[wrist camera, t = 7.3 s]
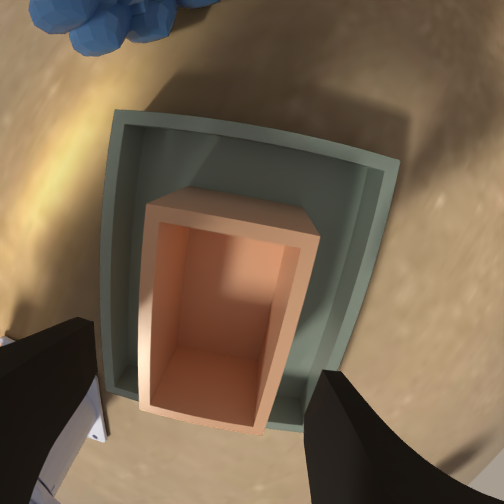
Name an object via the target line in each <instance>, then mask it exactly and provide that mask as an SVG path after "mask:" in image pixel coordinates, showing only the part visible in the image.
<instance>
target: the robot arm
mask: <svg viewBox="0 0 504 504" xmlns="http://www.w3.org/2000/svg"><path fill="white" fill-rule="evenodd" d="M0 342H1V347H0V504H60V502H59V501H57V500H56V499H55V498H54V496H55V495H56V493H57V491H58V489H59V487H60V485H61V483H62V481H63V480H64V478H65V476H66V474H67V472H68V470H69V468H70V467H71V465H72V463H73V461H74V459H75V458H76V456H77V454H78V452H79V450H80V449H81V447H82V445H83V443H84V442H85V440H86V438H87V437H89V438H92V439H95V440H97V441H100V442H106V440H107V434H106V429H105V423H104V417H103V411H102V405H101V398H100V391H99V383H98V377H97V376H96V374H97V372H98V370H97V360H96V349H95V335H94V322H93V321H89V320H86V319H83V318H80V317H76V318H73V319H70V320H68V321H65V322H62V323H60V324H57V325H55V326H53V327H50V328H48V329H45V330H43V331H41V332H38V333H36V334H33V335H31V336H28V337H26V338H23V339H20V340H18V341H15V340H12V339H10V338H8V337H6V336H2V337H1V338H0ZM304 448H305V455H306V463H307V470H308V478H309V485H310V493H311V502H312V504H504V501H502V500H499V499H496V498H494V497H491V496H488V495H486V494H483V493H481V492H479V491H476V490H474V489H472V488H470V487H468V486H466V485H464V484H462V483H461V482H459V481H457V480H455V479H454V478H452V477H450V476H448V475H447V474H445V473H444V472H442V471H441V470H439V469H438V468H436V467H435V466H433V465H432V464H431V463H429V462H428V461H427V460H425V459H424V458H423V457H421V456H420V455H419V454H418V453H417V452H415V451H414V450H413V449H412V448H410V447H409V446H408V445H407V444H406V443H405V442H404V441H403V440H402V439H400V438H399V437H398V436H397V435H396V434H395V433H394V432H393V431H392V430H391V429H390V428H389V427H388V426H387V425H386V423H385V422H384V421H383V420H382V419H381V418H380V417H379V416H378V415H377V414H376V412H375V411H374V410H373V409H372V408H371V407H370V406H369V404H368V403H367V402H366V401H365V400H364V398H363V397H362V396H361V395H360V394H359V392H358V391H357V390H356V389H355V388H354V386H353V385H352V384H351V383H350V381H349V380H348V379H347V378H346V377H345V375H344V374H343V373H342V372H341V371H333V370H324V369H322V371H321V374H320V376H319V379H318V382H317V384H316V387H315V389H314V392H313V394H312V397H311V399H310V402H309V404H308V407H307V409H306V412H305V414H304Z"/></svg>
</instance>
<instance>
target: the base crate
mask: <svg viewBox="0 0 504 504" xmlns="http://www.w3.org/2000/svg"><path fill="white" fill-rule="evenodd" d="M399 165H400V160H397V159H394V158H391V157H387V156H384V155H381V154H377V153H374V152H370V151H367V150H363V149H359V148H356V147H352V146H348V145H344V144H340V143H336V142H332V141H328V140H324V139H320V138H315V137H311V136H307V135H302V134H297V133H293V132H288V131H283V130H278V129H273V128H267V127H262V126H256V125H251V124H245V123H239V122H232V121H226V120H219V119H212V118H205V117H197V116H188V115H179V114H170V113H159V112H147V111H134V110H116V109H115V111H114V116H113V122H112V128H111V135H110V142H109V149H108V156H107V164H106V173H105V182H104V193H103V205H102V219H101V238H100V323H101V342H102V356H103V367H104V378H105V387H106V391H107V392H110V393H113V394H116V395H119V396H123V397H126V398H129V399H132V400H136V401H139V385H138V317H139V290H140V271H141V256H142V243H143V232H144V221H145V212H146V204H147V203H149V202H151V201H154V200H156V199H158V198H161V197H163V196H165V195H168V194H170V193H172V192H175V191H177V190H179V189H182V188H184V187H187V186H191V187H197V188H203V189H209V190H215V191H221V192H226V193H232V194H237V195H243V196H248V197H253V198H259V199H264V200H269V201H274V202H279V203H284V204H289V205H294V206H299V207H303V208H304V210H305V212H306V213H307V215H308V217H309V218H310V220H311V221H312V223H313V225H314V226H315V228H316V230H317V231H318V233H319V235H320V240H319V245H318V249H317V253H316V257H315V261H314V265H313V268H312V272H311V276H310V280H309V284H308V288H307V291H306V295H305V299H304V302H303V306H302V310H301V313H300V317H299V320H298V324H297V327H296V331H295V334H294V338H293V341H292V345H291V348H290V351H289V355H288V358H287V361H286V365H285V368H284V371H283V374H282V378H281V381H280V384H279V387H278V390H277V393H276V397H275V400H274V403H273V406H272V409H271V412H270V415H269V418H268V421H267V424H266V427H265V428H267V429H275V430H284V431H293V432H303V433H304V414H305V412H306V409H307V407H308V404H309V402H310V399H311V397H312V394H313V392H314V389H315V387H316V384H317V382H318V379H319V376H320V374H321V371H322V369H324V370H333V371H337V370H338V367H339V365H340V362H341V360H342V357H343V355H344V352H345V349H346V347H347V344H348V341H349V339H350V336H351V333H352V331H353V328H354V325H355V322H356V319H357V317H358V314H359V311H360V308H361V305H362V302H363V299H364V296H365V293H366V290H367V287H368V284H369V280H370V277H371V274H372V271H373V267H374V264H375V261H376V257H377V254H378V250H379V247H380V243H381V240H382V236H383V232H384V229H385V225H386V221H387V217H388V213H389V209H390V205H391V201H392V197H393V193H394V188H395V184H396V179H397V175H398V170H399Z"/></svg>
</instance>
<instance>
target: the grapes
mask: <svg viewBox="0 0 504 504" xmlns="http://www.w3.org/2000/svg"><path fill="white" fill-rule="evenodd" d="M217 2H220V0H30V4H29V13H30V15H31V18H32V21H33V23H34V25H35V26H36V27H38V28H40V29H41V30H43V31H45V32H47V33H48V34H66V33H68V32H70V33H69V37H70V40H71V43H72V46H73V48H74V50H76V51H77V52H79V53H81V54H82V55H84V56H97V57H98V56H101V55H104V54H108V53H111V52H113V51H115V50H117V49H119V48H120V47H121V45H122V44H123V42H124V40H125V38H127V39H129V40H130V41H131V42H135V43H148V42H152V41H156V40H160V39H162V38H165V37H167V36H169V33H170V31H171V29H172V27H173V24H174V22H175V18H176V14H177V10H178V9H177V5H178V6H179V7H183V8H189V9H195V8H200V7H205V6H208V5H211V4H214V3H217Z"/></svg>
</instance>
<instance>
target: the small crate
mask: <svg viewBox="0 0 504 504" xmlns="http://www.w3.org/2000/svg"><path fill="white" fill-rule="evenodd" d="M319 240H320V235H319V233H318V231H317V230H316V228H315V226H314V225H313V223H312V221H311V220H310V218H309V217H308V215H307V213H306V212H305V210H304V208H303V207H299V206H294V205H289V204H284V203H279V202H274V201H269V200H264V199H259V198H253V197H248V196H243V195H237V194H232V193H226V192H221V191H215V190H209V189H203V188H197V187H191V186H187V187H184V188H182V189H179V190H177V191H175V192H172V193H170V194H168V195H165V196H163V197H161V198H158V199H156V200H154V201H151V202H149V203H147V204H146V212H145V221H144V232H143V243H142V256H141V271H140V290H139V317H138V385H139V410H143V411H146V412H150V413H153V414H157V415H161V416H165V417H169V418H173V419H177V420H181V421H185V422H190V423H194V424H199V425H203V426H208V427H213V428H218V429H224V430H229V431H235V432H241V433H248V434H254V435H262V436H263V433H264V430H265V427H266V424H267V421H268V418H269V415H270V412H271V409H272V406H273V403H274V400H275V397H276V393H277V390H278V387H279V384H280V381H281V378H282V374H283V371H284V368H285V365H286V361H287V358H288V355H289V351H290V348H291V345H292V341H293V338H294V334H295V331H296V327H297V324H298V320H299V317H300V313H301V310H302V306H303V302H304V299H305V295H306V291H307V288H308V284H309V280H310V276H311V272H312V268H313V265H314V261H315V257H316V253H317V249H318V245H319Z"/></svg>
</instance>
